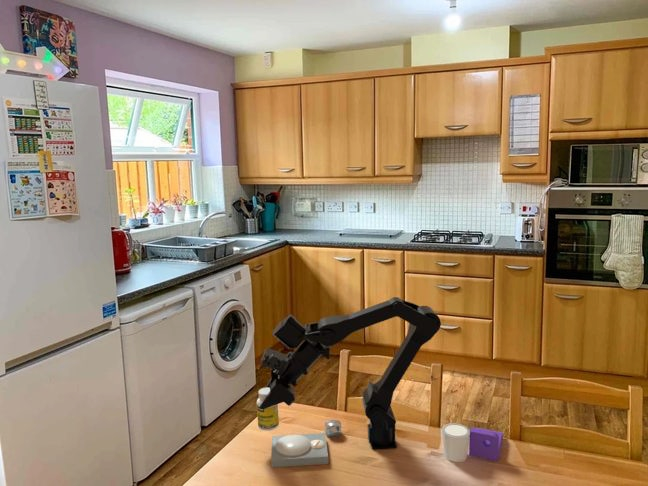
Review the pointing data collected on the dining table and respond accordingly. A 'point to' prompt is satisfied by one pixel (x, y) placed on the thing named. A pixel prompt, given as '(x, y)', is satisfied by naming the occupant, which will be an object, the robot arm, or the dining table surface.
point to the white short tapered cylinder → (455, 442)
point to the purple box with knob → (485, 443)
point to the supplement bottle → (266, 413)
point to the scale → (299, 450)
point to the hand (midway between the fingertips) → (261, 402)
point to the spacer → (332, 428)
